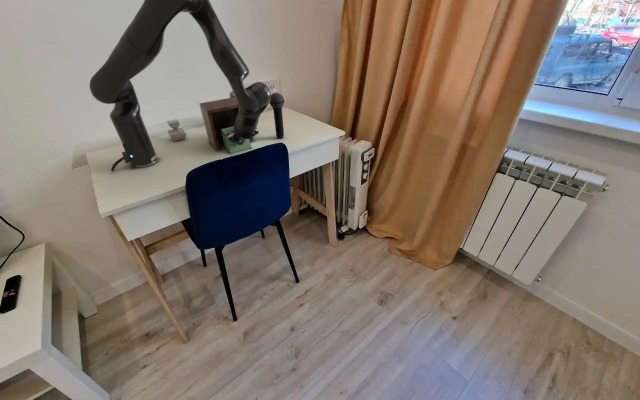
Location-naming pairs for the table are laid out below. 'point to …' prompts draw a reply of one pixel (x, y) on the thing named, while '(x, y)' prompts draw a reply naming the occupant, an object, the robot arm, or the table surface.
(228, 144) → the basket
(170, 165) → the table surface
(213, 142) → the cubby
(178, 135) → the stamp
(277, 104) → the microphone
